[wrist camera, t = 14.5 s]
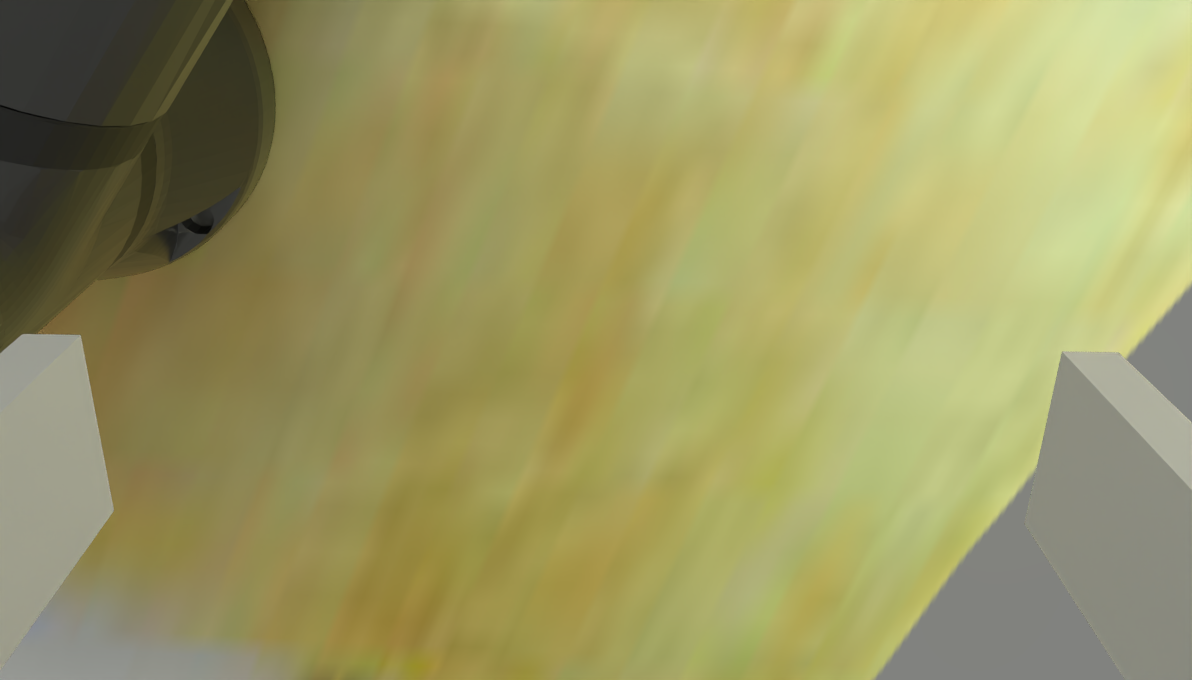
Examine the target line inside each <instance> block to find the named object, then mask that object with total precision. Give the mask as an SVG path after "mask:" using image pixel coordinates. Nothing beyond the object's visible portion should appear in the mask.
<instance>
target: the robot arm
mask: <svg viewBox="0 0 1192 680" xmlns="http://www.w3.org/2000/svg"><path fill="white" fill-rule="evenodd" d="M274 122H275V92H274V84H273V76H272V71H271V66H270V62H269V58H268V55H267V51H266V48H265V45H264V42H263V39H262V36H261V34H260V31H259V29H258V27H257V24H256V22H255V20H254V18H253V16H252V14H251V12H250V10H249V8H248V6H247V5H246V3H245V1H244V0H0V670H1V669H2V667H3V666H4V665H5V663H6V662H7V660H8V659H9V658H10V656H11V655H12V653H13V652H14V651H15V649H16V648H17V646H18V645H19V644H20V642H21V641H22V639H23V638H24V636H25V635H26V634H27V632H28V631H29V629H30V628H31V627H32V625H33V624H34V622H35V621H36V620H37V618H38V617H39V615H40V614H41V613H42V611H43V610H44V608H45V607H46V606H47V604H48V603H49V601H50V600H51V598H52V597H53V596H54V594H55V593H56V591H57V590H58V589H59V587H60V586H61V584H62V583H63V582H64V580H65V579H66V577H67V576H68V575H69V573H70V572H71V570H72V569H73V568H74V566H75V565H76V563H77V562H78V560H79V559H80V558H81V556H82V555H83V553H84V552H85V551H86V549H87V548H88V546H89V545H90V544H91V542H92V541H93V539H94V538H95V537H96V535H97V534H98V532H99V531H100V530H101V528H102V527H103V525H104V524H105V522H106V521H107V520H108V518H109V517H110V515H111V514H112V513H113V511H114V508H113V503H112V498H111V493H110V487H109V482H108V477H107V471H106V466H105V461H104V456H103V450H102V445H101V440H100V435H99V429H98V424H97V419H96V413H95V408H94V403H93V398H92V392H91V387H90V382H89V377H88V371H87V366H86V361H85V355H84V350H83V345H82V340H81V335H52V334H36V333H38V332H39V331H40V330H41V329H42V328H43V327H44V326H45V325H47V324H48V323H49V322H50V321H51V320H52V319H53V318H54V317H55V316H57V315H58V314H59V313H60V312H61V311H62V310H63V309H64V308H66V307H67V306H68V305H69V304H70V303H71V302H72V301H73V300H74V299H76V298H77V297H78V296H79V295H80V294H81V293H82V292H83V291H84V290H86V289H87V288H88V287H89V286H90V285H91V284H92V283H93V282H95V281H96V280H103V279H110V278H117V277H124V276H130V275H136V274H140V273H144V272H148V271H151V270H154V269H158V268H160V267H163V266H165V265H168V264H170V263H172V262H174V261H176V260H178V259H180V258H182V257H184V256H186V255H188V254H189V253H191V252H193V251H194V250H196V249H198V248H199V247H200V246H202V245H203V244H204V243H206V242H207V241H208V240H209V239H210V238H212V237H213V236H214V235H215V234H216V233H217V232H218V231H219V230H220V229H221V228H222V227H223V226H224V225H225V224H226V223H227V222H228V221H229V220H230V219H231V218H232V217H233V216H234V215H235V214H236V212H237V211H238V210H239V209H240V208H241V207H242V205H243V204H244V203H245V202H246V200H247V199H248V197H249V196H250V194H251V193H252V191H253V190H254V188H255V186H256V184H257V182H258V181H259V178H260V176H261V174H262V172H263V169H264V167H265V164H266V161H267V158H268V155H269V151H270V147H271V143H272V138H273V132H274ZM1025 525H1026V527H1027V528H1028V530H1029V532H1030V533H1031V535H1032V536H1033V538H1034V539H1035V541H1036V542H1037V544H1038V546H1039V547H1040V549H1041V550H1042V552H1043V553H1044V555H1045V556H1046V558H1047V559H1048V561H1049V563H1050V564H1051V566H1052V567H1053V569H1054V570H1055V572H1056V573H1057V575H1058V577H1059V578H1060V580H1061V581H1062V583H1063V584H1064V586H1065V587H1066V589H1067V591H1068V592H1069V594H1070V595H1071V597H1072V598H1073V600H1074V601H1075V603H1076V604H1077V606H1078V608H1079V609H1080V611H1081V612H1082V614H1083V615H1084V617H1085V618H1086V620H1087V622H1088V623H1089V625H1090V626H1091V628H1092V629H1093V631H1094V633H1095V634H1096V636H1097V637H1098V639H1099V640H1100V642H1101V643H1102V645H1103V646H1104V648H1105V649H1106V651H1107V653H1108V654H1109V656H1110V657H1111V659H1112V660H1113V662H1114V664H1115V665H1116V666H1117V668H1118V670H1119V671H1120V673H1121V674H1122V676H1123V678H1124V679H1125V680H1192V422H1191V421H1190V420H1189V419H1188V418H1186V417H1185V416H1184V415H1183V414H1182V413H1181V412H1180V411H1179V410H1178V409H1177V408H1176V407H1175V406H1174V405H1173V404H1172V403H1171V402H1170V401H1169V400H1168V399H1167V398H1166V397H1165V396H1163V395H1162V394H1161V393H1160V392H1159V391H1158V390H1157V389H1156V388H1155V387H1154V386H1153V385H1152V384H1151V383H1150V382H1149V381H1148V380H1147V379H1146V378H1145V377H1144V376H1142V375H1141V374H1140V373H1139V372H1138V371H1137V370H1136V369H1135V368H1134V367H1133V366H1132V365H1131V364H1130V363H1129V362H1128V361H1127V360H1126V359H1125V358H1124V357H1123V356H1122V355H1121V354H1120V353H1118V352H1062V354H1061V359H1060V363H1059V368H1058V372H1057V377H1056V381H1055V386H1054V391H1053V395H1052V400H1051V404H1050V409H1049V413H1048V418H1047V423H1046V427H1045V432H1044V436H1043V441H1042V445H1041V450H1040V455H1039V459H1038V464H1037V468H1036V473H1035V477H1034V483H1033V487H1032V492H1031V496H1030V500H1029V505H1028V509H1027V514H1026V519H1025Z"/></svg>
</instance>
